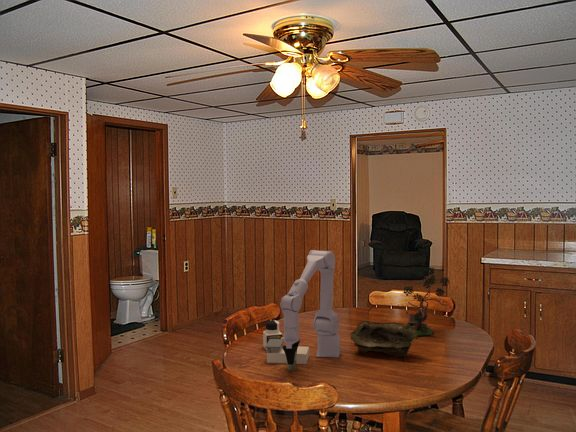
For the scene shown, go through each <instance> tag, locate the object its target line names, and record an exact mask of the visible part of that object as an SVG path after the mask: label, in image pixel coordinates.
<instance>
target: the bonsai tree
mask: <svg viewBox="0 0 576 432" xmlns="http://www.w3.org/2000/svg"><path fill="white" fill-rule="evenodd" d="M434 270H435V268H434V267H430V266H429V267H428V266H427V267H426V266H425V267H423V266H421V267H419V268H418V272H417V274H418V276H419V277H420V276H422V275H423V277H424V278H425V281H424V282H423V283H424V284H423V286H422V287H424V288H425V289H426V290H425V291H426V294H425V295H424V296H422V294H419V293H418V292H416V293H415V291H414V289H413V288H414V287H413V286H412V285H411V286H409V285H408V286H407V285H405V286H404V287H403V289H404V290H403V294H404V295H406V297H408V296H409V295H410V296H411V295H413V297H414V299H413V300H416V302H419V306H417V305H414V304H412V303H410V302H411V300H410V301H408V302H407V303H408V304H409V305H410V306H412V307H414V308H416V309H417V308H418V312H416V313H413V312H410V311H409V312H408V311H405V313H406V315H408V316H407V323H406V324H404V325H405V326H407V327H412V328H414V329H416V330H417V337H420V336H421V337H423V336H432V335H434V332H435V331H434V330H433V329H431V326H428V324H427V323H425V321H426V320H427V318H428V312H427V310H428V307H429V302H428V301H437V302H439V304H440V305H441V306H449V302H448V301H446V300H442V303H441V301H440V300H438V299H435V298H429V297H430V295H431V289H430V288H431V287H432V286H434V285H436V283H437V282H436V280H437V279H436V276H435V271H434ZM425 276H427V277H428V278H426V277H425ZM438 283H440V284H442V285H441V286H442V287H447V286H448V285H449V284H451V281H450V278H448V277H447V276H441V279H440V280H439V282H438ZM434 292H435V293H436V295H437V296H439V297H443V296H444V295H445V293H447V292H446V291H445V290H443V288H440V287H438V288H437V289H436V290H434ZM444 302H446V303H447V304H444ZM424 303H426V305H424Z"/></svg>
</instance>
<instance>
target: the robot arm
mask: <svg viewBox="0 0 576 432" xmlns="http://www.w3.org/2000/svg"><path fill="white" fill-rule="evenodd" d="M306 262H307V263H306V265H305V267H304V269H303V271H302V273H301V275H300V278H298V279H296V280H295V281H294V282H293V284H292V286H291V288H290V289H289V291H288V293H287V294H285V295H284V296H282V297H281V299H280V303H279V306H280V309H281V313H282V315H283V336H282V337H281V340H284V342H283V343H285V344H286V345H283V350H284V352H285V355H286V359H287V363H288V365H293V364H294V359H295V353H296V354H297V348H298V346H300V345H299V344H300V342H301V340H300V335H299V334H300V332H299V331H300V330H299V329H300V327H299V319H300V318H299V311H300V309H301V308H302V305H303V304H302V303H303V297H304V296H305V294H306V293H307V290H308V289H309V285H308V283H309V281H310V280H311V278H312V277H313V276H314V274H315V273H316V272H317V271H319V272H320V293H319V295H320V296H319V310H318V311H316V313H314V319H313V322H312V323H313V324H312V326H313V330H314V331H315V334H317V352H316V355H315V356H316V357H317V358H318V357H319V358H340V354H341V337H340V336H341V335H340V333H338V331H339V328H340V322H339V315H338V314H337V313H336V312H335V311H334V310H333V307H334V306H333V303H334V300H333V299H334V280H335V279H334V276H335V275H334V274H335V269H336V256H335V253H333V251H331V250H315V249H311V250H310V251H309V252H308V255H307V256H306Z"/></svg>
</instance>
